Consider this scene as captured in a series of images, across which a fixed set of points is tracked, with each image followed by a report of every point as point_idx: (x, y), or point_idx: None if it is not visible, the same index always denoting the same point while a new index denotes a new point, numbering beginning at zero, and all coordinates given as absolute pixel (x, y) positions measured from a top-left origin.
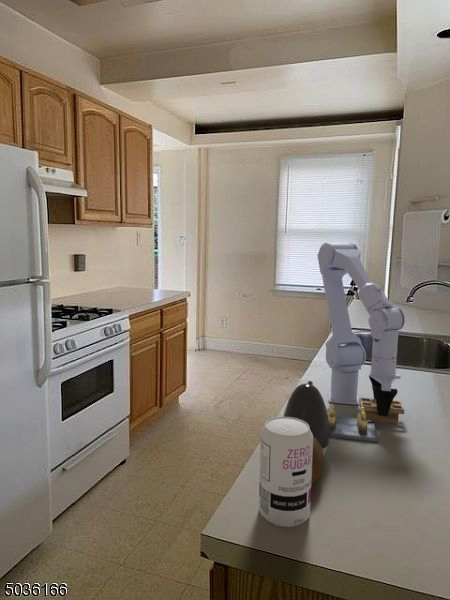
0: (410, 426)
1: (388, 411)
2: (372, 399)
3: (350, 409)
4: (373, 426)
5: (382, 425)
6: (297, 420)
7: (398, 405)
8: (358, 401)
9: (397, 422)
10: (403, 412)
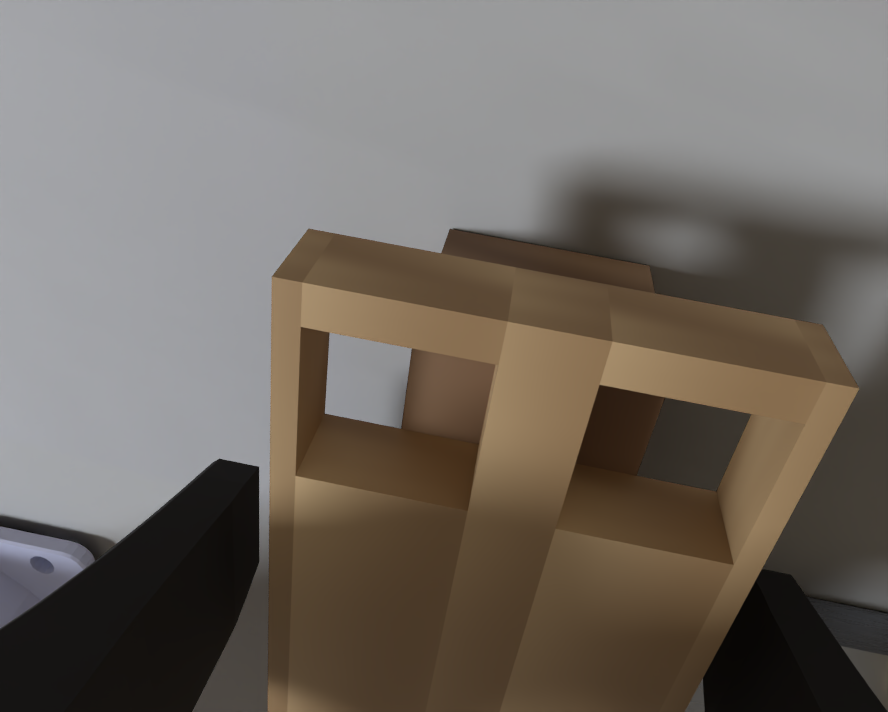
0: (780, 89)
1: (841, 648)
2: (304, 700)
3: (239, 635)
4: (878, 667)
5: (705, 483)
6: None
7: (577, 422)
8: (2, 544)
9: (648, 282)
10: (827, 360)
